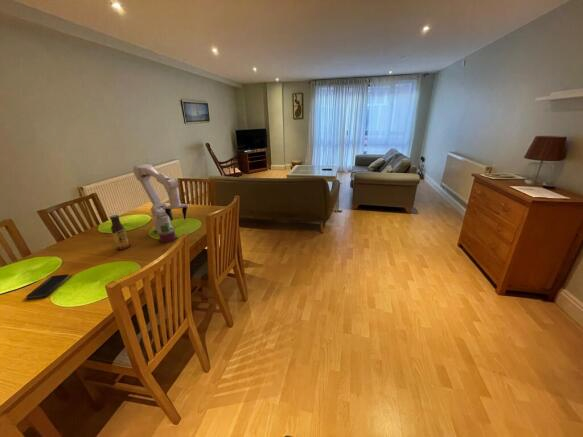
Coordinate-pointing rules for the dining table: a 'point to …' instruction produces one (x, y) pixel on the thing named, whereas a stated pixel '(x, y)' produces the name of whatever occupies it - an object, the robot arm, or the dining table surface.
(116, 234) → the sauce bottle
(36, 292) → the phone
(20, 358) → the dining table surface
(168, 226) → the block
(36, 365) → the dining table surface
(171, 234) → the jar
